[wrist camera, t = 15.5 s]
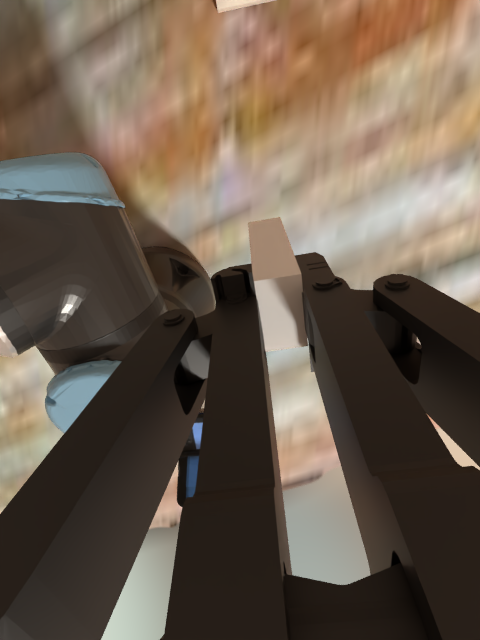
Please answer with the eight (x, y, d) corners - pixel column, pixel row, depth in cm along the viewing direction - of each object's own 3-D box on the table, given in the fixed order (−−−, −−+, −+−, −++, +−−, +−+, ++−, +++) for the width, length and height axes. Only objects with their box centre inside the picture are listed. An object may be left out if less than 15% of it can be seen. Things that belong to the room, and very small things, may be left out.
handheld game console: (260, 407, 62) (263, 452, 54) (264, 458, 68) (268, 504, 60) (171, 413, 62) (161, 458, 54) (183, 463, 69) (176, 509, 61)
